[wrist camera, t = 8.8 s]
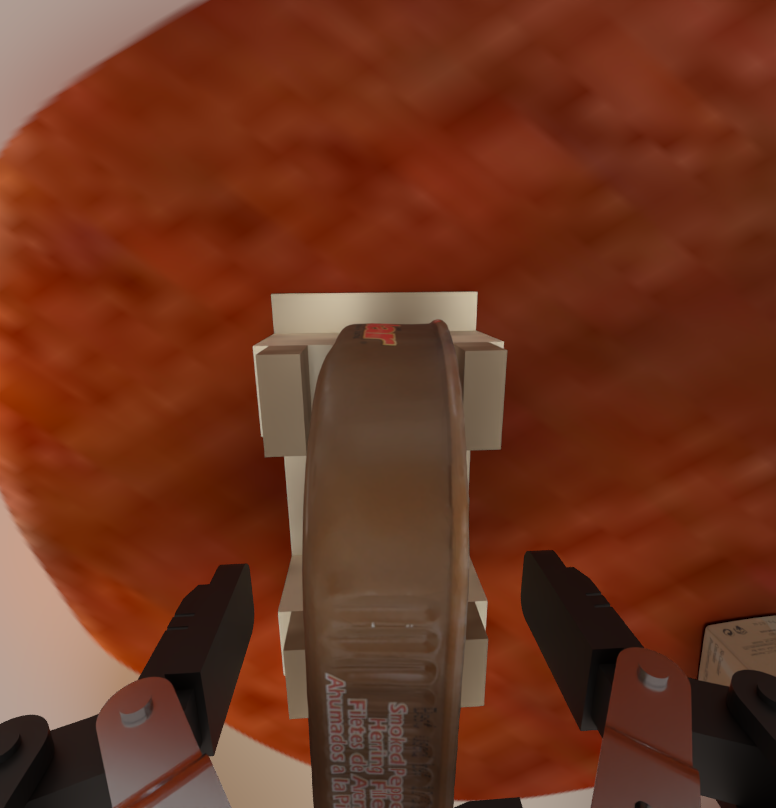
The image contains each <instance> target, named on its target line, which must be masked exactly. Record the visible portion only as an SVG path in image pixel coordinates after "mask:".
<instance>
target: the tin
mask: <svg viewBox="0 0 776 808" xmlns="http://www.w3.org/2000/svg"><path fill="white" fill-rule="evenodd" d="M466 455H467V447H466V438H465V416H464V409H463V399H462V388H461V382H460V376H459V370H458V361H457V356H456V352H455V347H454V344H453V341H452V337H451V334H450V331H449V329H448V326H447V324H446V323H445V322H444V321H443V320H441V319H436V320H433V321H432V322H431V323H429V324H381V323H367V324H352V325H348V326H346V327H345V328H343V329H342V331H341V332H340V334H339V335H338V337H337V339H336V342H335V343H334V345H333V346H332V348H331V349H330V351H329V352H328V354H327V355H326V357H325V359H324V361H323V364H322V366H321V369H320V372H319V375H318V378H317V383H316V388H315V393H314V398H313V405H312V414H311V422H310V430H309V439H308V447H307V457H306V467H305V484H304V502H303V540H302V589H303V619H304V633H305V660H306V682H307V702H308V722H309V739H310V755H311V767H312V786H313V802H314V808H453V804H454V799H453V798H454V784H455V773H456V759H457V747H458V729H459V717H460V707H461V688H462V674H463V664H464V650H465V642H466V625H467V610H468V594H469V493H468V486H469V484H468V478H467V460H466Z"/></svg>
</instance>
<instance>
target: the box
mask: <svg viewBox="0 0 776 808" xmlns="http://www.w3.org/2000/svg"><path fill="white" fill-rule="evenodd" d="M740 670H756V671H761V672H764V673H767V674H770V675H773V676H775V677H776V615H774V616H767V617H758V618H751V619H744V620H738V621H732V622H725V623H719V624H713V625H708V626H707V627H706V629H705V635H704V641H703V648H702V655H701V662H700V669H699V677H698V680H700V681H705V682H710V683H715V684H719V685H724V686H730V683H731V679H732V676H733V674H734V673H736V672H737V671H740Z"/></svg>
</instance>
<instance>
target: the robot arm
mask: <svg viewBox="0 0 776 808" xmlns="http://www.w3.org/2000/svg"><path fill="white" fill-rule="evenodd" d="M521 606H522V611H523V614H524V617H525V620H526V622H527V624H528V626H529V628H530V630H531V632H532V634H533V636H534V638H535V640H536V642H537V644H538V646H539V648H540V650H541V652H542V654H543V656H544V658H545V660H546V662H547V664H548V666H549V668H550V670H551V672H552V674H553V676H554V678H555V680H556V682H557V684H558V686H559V688H560V690H561V692H562V694H563V696H564V698H565V701H566V703H567V705H568V707H569V709H570V711H571V713H572V715H573V717H574V719H575V721H576V723H577V725H578V727H579V729H580V731H587V730H598V731H599V733H600V735H601V736H602V738H603V741H602V746H601V752H600V758H599V763H598V769H597V775H596V780H595V786H594V792H593V798H592V804H591V808H701V798H700V795H702V796H706V797H710V798H713V799H716V801H717V802H718V804H719V805H720V807H721V808H776V677H775V676H773V675H770V674H767V673H764V672H761V671H756V670H740V671H737V672H736V673H734V674H733V676H732V679H731V683H730V686H724V685H719V684H715V683H710V682H705V681H700V680H696V679H692V678H688V677H687V676H686V674H685V673H684V672H683V671H682V669H681V668H680V667H679V666H678V665H676V664H675V663H674V662H673V661H671V660H670V659H668V658H667V657H665V656H663V655H662V654H660V653H657V652H655V651H652V650H649V649H645V648H644V647H643V646H642V645H641V643H640V642H639V641H638V639H637V638H636V637H635V636H634V634H633V633H632V632H631V630H630V629H629V628H628V627H627V625H626V624H625V623H624V621H623V620H622V619H621V618H620V616H619V615H618V614H617V613H616V611H615V610H614V609H613V607H610V604H609V602H608V601H607V600H606V598H605V597H604V596H603V595H601V592H600V591H599V590H598V588H597V587H596V586H595V584H594V583H593V582H592V581H591V579H590V578H588V577H587V576H585V575H584V574H583V573H581V572H580V571H578V570H577V569H576V568H574V567H568V568H566V566H565V565H564V564H563V562H562V561H561V559H560V558H559V557H558V555H557V554H556V553H555V552H554V551H553V550H543V551H527V552H526V553H525V556H524V564H523V576H522V587H521ZM253 624H254V604H253V595H252V586H251V577H250V569H249V566H248V564H229V565H220V566H219V567H218V568H217V570H216V572H215V574H214V576H213V578H212V580H211V582H210V584H208V585H198V586H197V587H196V588H195V589H194V590H192V591H191V592H190V593H189V594H188V595H187V596H186V597H185V598H184V599H183V600H182V602H181V604H180V606H179V607H178V609H177V611H176V613H175V616H174V617H173V618H172V620H171V622H170V623H169V625H168V627H167V630H166V631H165V632H164V634H163V636H162V638H161V639H160V641H159V643H158V645H157V647H156V648H155V650H154V652H153V654H152V656H151V657H150V659H149V661H148V663H147V664H146V666H145V668H144V670H143V672H142V673H141V675H140V677H139V679H138V680H137V681H134V682H132V683H130V684H128V685H127V686H125V687H123V688H122V689H120V690H119V691H118V692H116V693H115V694H114V695H113V696H112V697H111V698H110V699H109V700H108V701H107V702H106V703H105V705H104V706H103V708H102V709H101V711H100V713H99V714H97V715H95V716H92V717H90V718H87V719H84V720H81V721H78V722H75V723H72V724H69V725H66V726H63V727H60V728H57V729H54V730H51V731H50V729H49V726H48V723H47V721H46V720H45V719H44V718H43V717H41V716H38V715H25V716H20V717H16V718H13V719H10V720H8V721H5V722H3V723H1V724H0V808H231V806H230V803H229V801H228V799H227V797H226V794H225V792H224V790H223V787H222V785H221V783H220V780H219V778H218V776H217V774H216V771H215V769H214V767H213V764H212V762H211V760H210V758H209V756H214V754H215V751H216V747H217V744H218V741H219V738H220V734H221V731H222V728H223V725H224V722H225V718H226V715H227V712H228V709H229V705H230V702H231V699H232V696H233V692H234V689H235V686H236V683H237V679H238V676H239V673H240V670H241V667H242V663H243V660H244V657H245V654H246V650H247V647H248V644H249V641H250V637H251V634H252V630H253ZM454 808H522V804H521V801H520V798H519V797H517V798H505V799H493V800H480V801H469V802H466V803H464V804H462V805H459V806H457V807H454Z"/></svg>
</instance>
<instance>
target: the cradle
mask: <svg viewBox="0 0 776 808" xmlns="http://www.w3.org/2000/svg"><path fill="white" fill-rule="evenodd" d="M477 293H478V292H380V293H287V294H271V300H272V313H273V325H274V334H273V335H271V336H269V337H268V338H266V339H264V340H262V341H261V342H259V343H257V344H256V345H254V346H253V355H254V365H255V376H256V386H257V397H258V407H259V418H260V429H261V437H263V441H264V452H265V457H284V462H285V474H286V487H287V499H288V512H289V524H290V536H291V549H292V558H291V562H290V566H289V570H288V574H287V578H286V582H285V586H284V590H283V594H282V598H281V602H280V606H279V610H278V619H279V629H280V640H281V651H282V661H283V672H284V675H285V677H286V687H287V698H288V709H289V719H297V718H308V702H307V682H306V660H305V633H304V619H303V589H302V540H303V502H304V484H305V467H306V457H307V447H308V439H309V430H310V422H311V414H312V405H313V398H314V393H315V388H316V383H317V378H318V375H319V372H320V369H321V366H322V364H323V361H324V359H325V357H326V355H327V354H328V352H329V351H330V349H331V348H332V346H333V345H334V343H335V342H336V339H337V337H338V335H339V334H340V332H341V331H342V329H343V328H345V327H346V326H348V325H352V324H367V323H381V324H429V323H431V322H432V321H433V320H436V319H441V320H443V321H444V322H445V323H446V324H447V326H448V329H449V331H450V334H451V337H452V341H453V344H454V347H455V352H456V356H457V361H458V370H459V376H460V382H461V388H462V399H463V409H464V416H465V438H466V447H467V455H466V460H467V478H468V484H469V468H470V450H498V449H501V437H502V422H503V407H504V392H505V377H506V362H507V350H506V349H504V341H501V340H499V339H496V338H493V337H491V336H488V335H486V334H483V333H481V332H478V331H476V315H477ZM468 490H469V486H468ZM486 616H487V598H486V596H485V594H484V591H483V589H482V586H481V584H480V581H479V579H478V576H477V574H476V571H475V569H474V566H473V564H472V561H471V559H470V556H469V594H468V610H467V625H466V642H465V650H464V664H463V674H462V688H461V707H473V706H484V694H485V679H486V664H487V649H488V637H487V634H486Z"/></svg>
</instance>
